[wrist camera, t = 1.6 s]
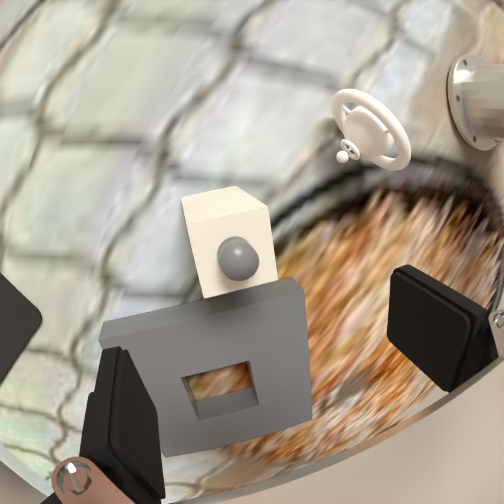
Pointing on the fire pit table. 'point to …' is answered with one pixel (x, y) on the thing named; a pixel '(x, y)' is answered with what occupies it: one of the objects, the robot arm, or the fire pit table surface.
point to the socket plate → (222, 364)
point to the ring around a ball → (369, 130)
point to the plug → (229, 240)
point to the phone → (14, 323)
